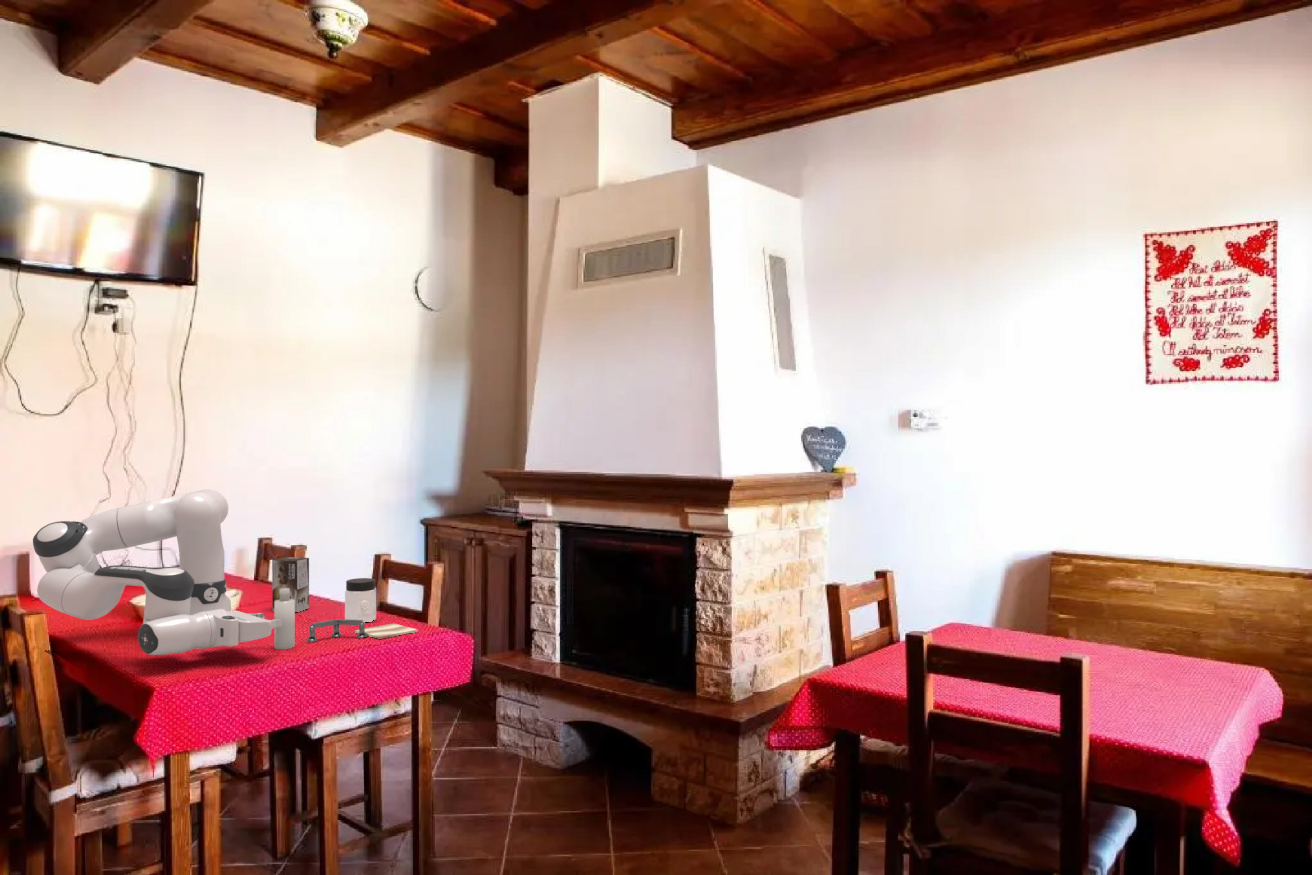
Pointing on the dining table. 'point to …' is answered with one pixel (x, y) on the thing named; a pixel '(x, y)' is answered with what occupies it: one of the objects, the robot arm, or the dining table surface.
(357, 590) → the jar
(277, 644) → the stoneware bottle
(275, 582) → the coffee box
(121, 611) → the dining table surface
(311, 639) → the grey angled rail stand
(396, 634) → the birch board
